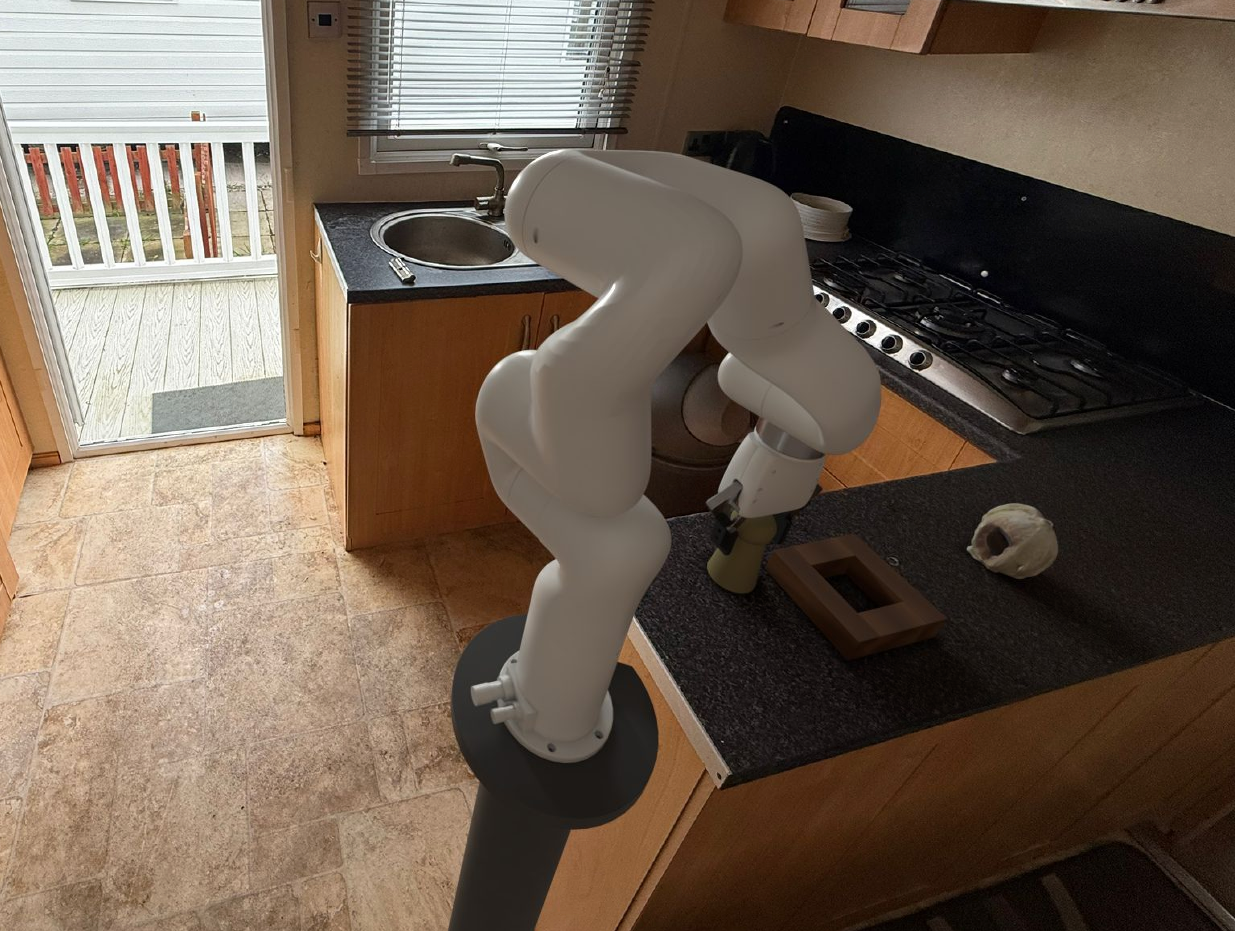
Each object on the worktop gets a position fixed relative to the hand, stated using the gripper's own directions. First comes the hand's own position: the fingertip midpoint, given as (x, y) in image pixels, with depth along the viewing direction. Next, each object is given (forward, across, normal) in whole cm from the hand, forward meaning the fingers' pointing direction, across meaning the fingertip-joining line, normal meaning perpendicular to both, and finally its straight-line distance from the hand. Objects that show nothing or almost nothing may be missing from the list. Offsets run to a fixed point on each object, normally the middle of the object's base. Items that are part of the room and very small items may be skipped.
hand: (745, 540), depth 84 cm
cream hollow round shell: (+7, -39, +7) cm, 40 cm away
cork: (+6, 0, 0) cm, 6 cm away
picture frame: (+6, -12, +7) cm, 15 cm away
